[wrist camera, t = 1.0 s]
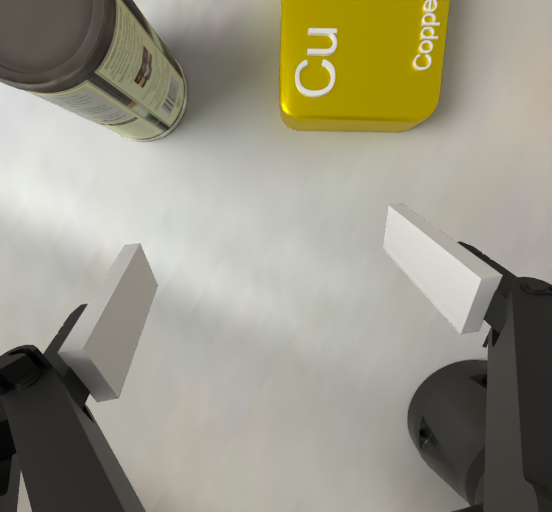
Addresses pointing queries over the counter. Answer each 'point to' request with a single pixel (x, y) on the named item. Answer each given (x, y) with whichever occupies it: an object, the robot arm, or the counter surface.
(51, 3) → the coffee can
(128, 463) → the counter surface
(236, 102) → the counter surface
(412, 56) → the element tile
